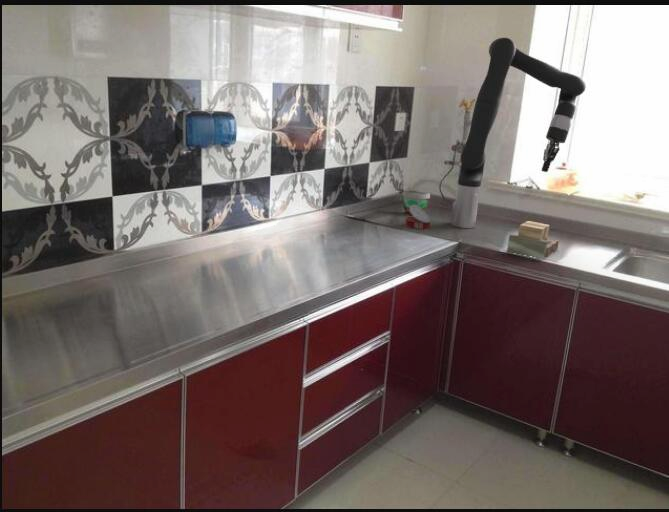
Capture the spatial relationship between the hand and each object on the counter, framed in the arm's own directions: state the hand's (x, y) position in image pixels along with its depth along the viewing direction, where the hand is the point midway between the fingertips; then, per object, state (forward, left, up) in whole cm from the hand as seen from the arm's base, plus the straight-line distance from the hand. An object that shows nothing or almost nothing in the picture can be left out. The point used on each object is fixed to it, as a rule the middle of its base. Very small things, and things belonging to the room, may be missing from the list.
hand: (544, 171), depth 251 cm
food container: (-52, -4, -27) cm, 58 cm away
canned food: (-41, -23, -27) cm, 54 cm away
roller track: (+6, -23, -27) cm, 36 cm away
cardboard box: (+6, -26, -23) cm, 35 cm away
